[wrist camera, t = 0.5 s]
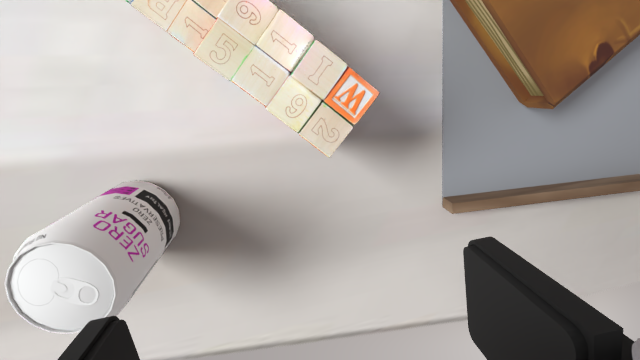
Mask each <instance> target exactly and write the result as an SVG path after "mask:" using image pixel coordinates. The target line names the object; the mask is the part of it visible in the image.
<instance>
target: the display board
mask: <svg viewBox="0 0 640 360" xmlns="http://www.w3.org/2000/svg"><path fill="white" fill-rule="evenodd" d="M632 191H640V35H639V36H638V37H637V38H635V39H634V40H633V41H632V42H631V43H630V44H628V45H627V46H626V47H625V48H624V49H623V50H621V51H620V52H619V53H618V54H617V55H616V56H614V57H613V58H612V59H611V60H610V61H609V62H607V63H606V64H605V65H604V66H603V67H602V68H600V69H599V70H598V71H597V72H596V73H595V74H593V75H592V76H591V77H590V78H589V79H587V80H586V81H585V82H584V83H583V84H582V85H580V86H579V87H578V88H577V89H576V90H575V91H573V92H572V93H571V94H570V95H569V96H568V97H566V98H565V99H564V100H563V101H562V102H561V103H559V104H558V105H557V106H556V107H555V108H554V109H542V108H528V107H526V106H525V105H523V104H522V103H520V102H519V101H518V100H517V98H516V97H515V95H514V94H513V92H512V91H511V89H510V88H509V87H508V85H507V84H506V82H505V81H504V79H503V78H502V76H501V75H500V73H499V72H498V70H497V69H496V67H495V66H494V65H493V63H492V62H491V60H490V59H489V57H488V56H487V54H486V53H485V51H484V50H483V48H482V47H481V45H480V44H479V43H478V41H477V40H476V38H475V37H474V35H473V34H472V32H471V31H470V29H469V28H468V26H467V25H466V23H465V22H464V21H463V19H462V18H461V16H460V15H459V13H458V12H457V10H456V9H455V7H454V6H453V4H452V3H451V1H450V0H443V120H442V205H443V207H444V208H445V209H446V210H448V211H449V212H451V213H452V214H454V213H462V212H470V211H478V210H486V209H494V208H503V207H511V206H519V205H527V204H535V203H543V202H551V201H559V200H567V199H576V198H584V197H592V196H600V195H608V194H616V193H624V192H632Z"/></svg>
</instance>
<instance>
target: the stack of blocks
mask: <svg viewBox="0 0 640 360" xmlns="http://www.w3.org/2000/svg"><path fill="white" fill-rule="evenodd" d="M126 1H127V2H128V3H130V4H131V6H133V7H134V8H135V9H136V10H138V11H139V12H141V13H142V14H143V15H145V16H146V17H147V18H149V19H150V20H151V21H153V22H154V23H155V24H157V25H158V26H159V27H161V28H162V29H163V30H165V31H166V32H167V33H169V34H170V35H171V36H173V37H174V38H175V39H176V40H178V41H179V42H181V43H182V44H183V45H185V46H186V47H188V48H189V49H190V50H192V51H193V52H194V56H196V57H197V58H198V59H200V60H201V61H202V62H204V63H205V64H207V65H208V66H209V67H211V68H212V69H213V70H215V71H216V72H218V73H219V74H220V75H222V76H223V77H224V78H226V79H227V80H228V81H232V82H233V83H234V84H236V85H237V86H238V87H240V88H241V89H242V90H244V91H245V92H247V93H248V94H249V95H251V96H252V97H253V98H255V99H256V100H257V101H259V102H260V103H261V104H263V105H264V106H265V108H266V110H268V111H269V112H270V113H272V114H273V115H274V116H276V117H277V118H278V119H280V120H281V121H282V122H284V123H285V124H286V125H288V126H289V127H290V128H291V129H293V130H294V131H295V132H297V133H298V134H299V135H300V136H301V137H303V138H304V139H305V140H307V141H308V142H309V143H310V144H312V145H313V146H314V147H316V148H317V149H318V150H319V151H321V152H322V153H323V154H325V155H326V156H328V157H331V156H332V154H333V153H334V152H335V150H336V149H337V148H338V147H339V145H340V144H341V143H342V142H343V140H344V139H345V138H346V137H347V135H348V134H349V133H350V132H351V130H352V129H353V125H355V124H356V123H357V122H358V121H359V120H360V119H361V117H362V116H363V115H364V113H365V112H366V111H367V110H368V108H369V107H370V106H371V104H372V103H373V102H374V100H375V99H376V98H377V96H378V95H379V93H380V92H379V91H378V90H377V89H375V88H374V87H373V86H372V85H371V84H369V83H368V82H367V81H366V80H364V79H363V78H362V77H361V76H360V75H358V74H357V73H356V72H355V71H354V70H353V69H351V68H350V67H348V65H347V63H345V62H344V61H343V60H342V59H340V58H339V57H338V56H337V55H335V54H334V53H333V52H332V51H330V50H329V49H328V48H327V47H325V46H324V45H323V44H322V43H320V42H319V41H318V40H316V39H315V38H314V36H313V35H312V34H311V33H310V32H309V31H308V30H306V29H305V28H304V27H302V26H301V25H300V24H299V23H298V22H296V21H295V20H294V19H293V18H291V17H290V16H289V15H288V14H286V13H285V12H284V11H282V10H280V9H278V7H277V6H276V5H275V4H273V3H272V2H271V1H270V0H126Z"/></svg>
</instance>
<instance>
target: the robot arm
mask: <svg viewBox="0 0 640 360" xmlns="http://www.w3.org/2000/svg"><path fill="white" fill-rule="evenodd" d="M463 254H464V269H465V284H466V298H467V313H468V328H469V332H470V335H471V338H472V340H473V341H474V343H475V344H476V345H477V347H478V348H479V349H480V351H481V352H482V353H483V354H484V356H485V357H486V359H487V360H640V338H639V339H637V340H636V341H635V342H634V341H632V340H631V339H629V338H628V337H627V336H625V335H624V334H623V328H622V327H620V326H619V325H618V324H616V323H615V322H613V321H612V320H610V319H609V318H607V317H606V316H605V315H603V314H602V313H600V312H599V311H598V310H596V309H595V308H593V307H592V306H590V305H589V304H588V303H586V302H585V301H583V300H582V299H580V298H579V297H578V296H576V295H575V294H573V293H572V292H570V291H569V290H568V289H566V288H565V287H563V286H562V285H560V284H559V283H558V282H556V281H555V280H553V279H552V278H550V277H549V276H547V275H546V274H545V273H543V272H542V271H540V270H539V269H537V268H536V267H535V266H533V265H532V264H530V263H529V262H527V261H526V260H525V259H523V258H522V257H520V256H519V255H517V254H516V253H515V252H513V251H512V250H510V249H509V248H507V247H506V246H505V245H503V244H502V243H500V242H499V241H497V240H496V239H495V238H493V237H485V238H481V239H476V240H471V241H470V242H469V244H468V247H465V248H464V251H463ZM58 360H140V359H139V356H138V353H137V351H136V348H135V345H134V342H133V340H132V337H131V334H130V332H129V329H128V326H127V324H126V322H125V321H124V320H119V318H118V317H117V316H110V317H105V318H100V319H95V320H91V321H89V322H88V323H87V324H86V325H85V327H84V328H83V329H82V330H81V332H80V333H79V334H78V335H77V336H76V338H75V339H74V340H73V341H72V343H71V344H70V345H69V346H68V347H67V349H66V350H65V351H64V352H63V354H62V355H61V356H60V357H59V359H58Z"/></svg>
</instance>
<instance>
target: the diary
mask: <svg viewBox="0 0 640 360" xmlns="http://www.w3.org/2000/svg"><path fill="white" fill-rule="evenodd" d="M450 1H451V3H452V4H453V6H454V7H455V9H456V10H457V12H458V13H459V15H460V16H461V18H462V19H463V21H464V22H465V23H466V25H467V26H468V28H469V29H470V31H471V32H472V34H473V35H474V37H475V38H476V40H477V41H478V43H479V44H480V45H481V47H482V48H483V50H484V51H485V53H486V54H487V56H488V57H489V59H490V60H491V62H492V63H493V65H494V66H495V67H496V69H497V70H498V72H499V73H500V75H501V76H502V78H503V79H504V81H505V82H506V84H507V85H508V87H509V88H510V89H511V91H512V92H513V94H514V95H515V97H516V98H517V100H518V101H519V102H520V103H522V104H523V105H525V106H526V107H528V108H542V109H554V108H555V107H556V106H557V105H558V104H559V103H561V102H562V101H563V100H564V99H565V98H566V97H568V96H569V95H570V94H571V93H572V92H573V91H575V90H576V89H577V88H578V87H579V86H580V85H582V84H583V83H584V82H585V81H586V80H587V79H589V78H590V77H591V76H592V75H593V74H595V73H596V72H597V71H598V70H599V69H600V68H602V67H603V66H604V65H605V64H606V63H607V62H609V61H610V60H611V59H612V58H613V57H614V56H616V55H617V54H618V53H619V52H620V51H621V50H623V49H624V48H625V47H626V46H627V45H628V44H630V43H631V42H632V41H633V40H634V39H635V38H637V37H638V36H639V35H640V0H450Z"/></svg>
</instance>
